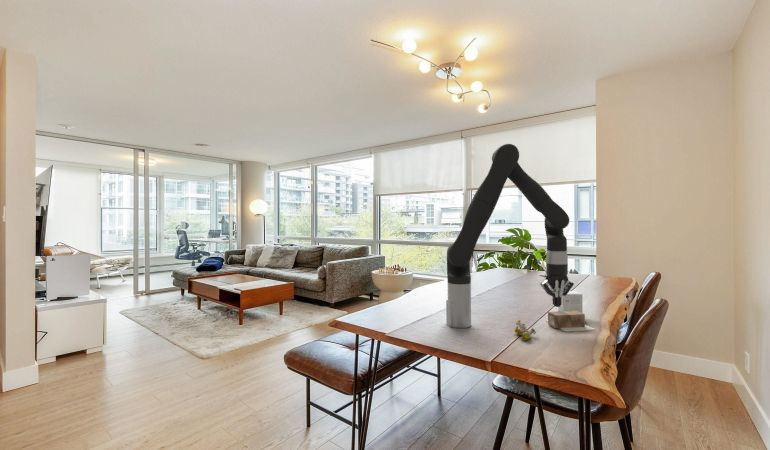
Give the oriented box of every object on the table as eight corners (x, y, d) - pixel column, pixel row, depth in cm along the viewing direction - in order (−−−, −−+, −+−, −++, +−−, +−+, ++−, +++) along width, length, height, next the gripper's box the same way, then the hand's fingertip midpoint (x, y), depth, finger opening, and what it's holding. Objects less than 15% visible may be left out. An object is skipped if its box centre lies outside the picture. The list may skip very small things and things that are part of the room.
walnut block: (555, 315, 136) (584, 314, 137) (548, 311, 140) (576, 310, 142) (555, 328, 136) (584, 326, 137) (548, 324, 141) (576, 323, 142)
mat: (565, 331, 133) (565, 330, 133) (546, 321, 146) (546, 320, 146) (595, 329, 134) (595, 329, 134) (573, 319, 147) (573, 319, 147)
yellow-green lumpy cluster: (530, 324, 137) (539, 334, 122) (521, 334, 137) (529, 346, 123) (519, 315, 138) (527, 324, 123) (510, 325, 138) (517, 336, 124)
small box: (577, 315, 154) (577, 291, 154) (582, 318, 148) (582, 293, 148) (557, 314, 155) (557, 290, 155) (563, 318, 149) (562, 293, 149)
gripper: (546, 264, 133) (546, 309, 134) (579, 263, 135) (579, 308, 135) (535, 261, 141) (535, 304, 141) (567, 260, 142) (567, 303, 142)
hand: (557, 306), depth 138 cm, fingers closed
